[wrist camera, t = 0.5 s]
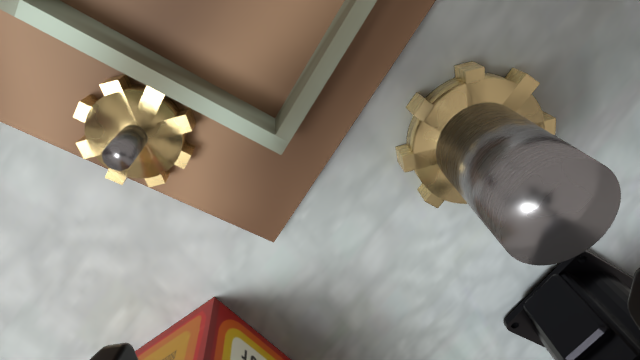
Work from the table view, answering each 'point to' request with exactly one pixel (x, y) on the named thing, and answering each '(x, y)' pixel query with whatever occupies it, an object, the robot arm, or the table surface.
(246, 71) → the gear board
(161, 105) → the gear
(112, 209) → the table surface
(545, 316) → the robot arm
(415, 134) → the brass gear
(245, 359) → the baking soda box
